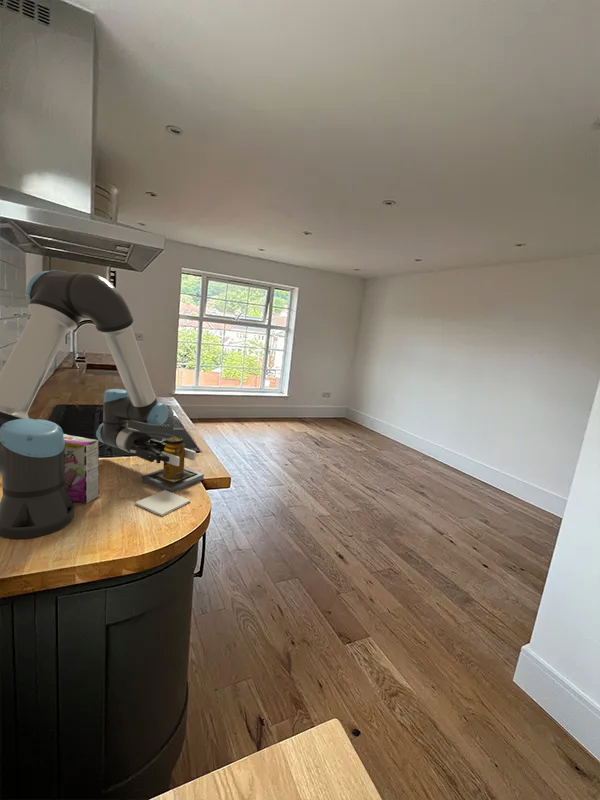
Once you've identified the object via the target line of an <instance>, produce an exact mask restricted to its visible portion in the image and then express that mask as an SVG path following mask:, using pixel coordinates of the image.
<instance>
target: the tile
mask: <svg viewBox="0 0 600 800" xmlns="http://www.w3.org/2000/svg"><path fill="white" fill-rule="evenodd" d="M190 501H191V502H192V500H191V499H190V498H189V499H188V498H186V497H184V496H181V495H178V494H176V493H175V492H174V493H171V492H169V491H166V490H161V491H159V492H157V493H154V494H152V495H149V496H147V497H145V498H143V499H142V498H141V499H140V500H137V501H135V503H134V505H135V506H137V507H141V508H142V509H144V508H145V509H144V510H146V509H147V510H146V511H149V512H151V511H152V513H153V512H154V514H155V513H156V514H155V515H158V514H159V515H158V516H160V515H161V517H163V516H165V515H167V514H169V513H171V512H173V510H174V511H175V509H176V510H177V508H178V509H180V508H182V507H184V506H186V505H187V503H188V502H190ZM191 502H190V503H191ZM185 504H186V505H185ZM188 504H189V503H188ZM183 505H184V506H183ZM181 506H182V507H181ZM179 507H180V508H179ZM162 515H163V516H162Z"/></svg>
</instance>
